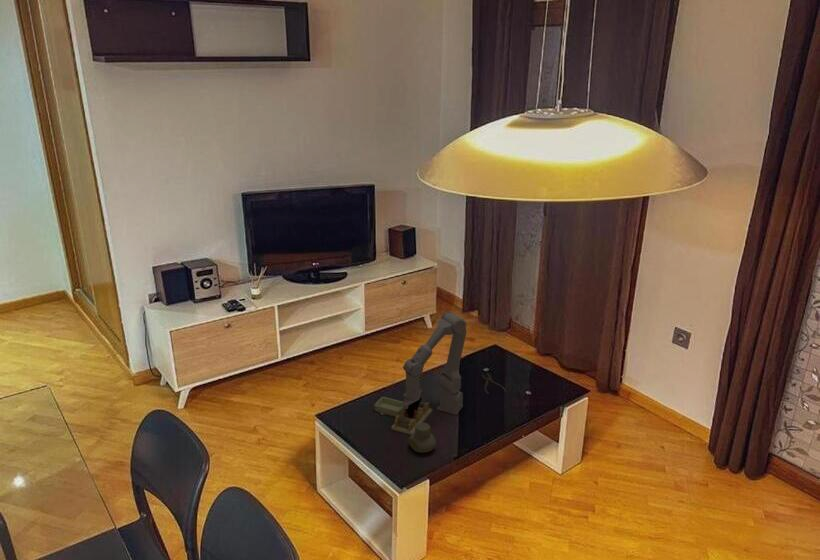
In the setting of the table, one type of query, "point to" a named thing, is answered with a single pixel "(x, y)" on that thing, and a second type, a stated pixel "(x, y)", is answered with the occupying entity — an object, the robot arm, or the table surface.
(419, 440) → the air freshener
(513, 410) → the table surface
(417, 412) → the cylinder
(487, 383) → the pliers
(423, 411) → the fuse holder
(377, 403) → the tray
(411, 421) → the fuse
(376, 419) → the table surface
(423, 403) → the fuse
